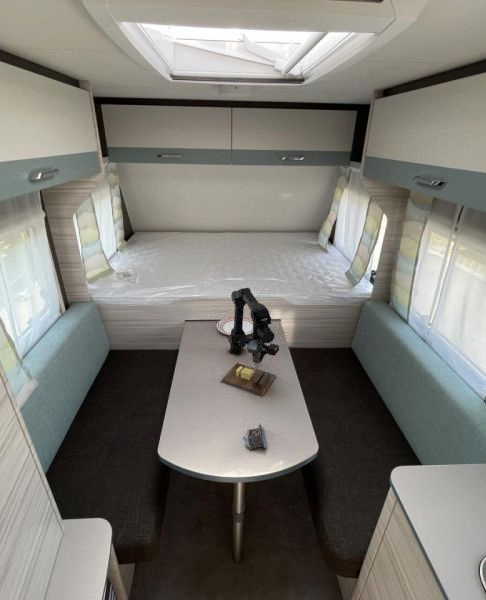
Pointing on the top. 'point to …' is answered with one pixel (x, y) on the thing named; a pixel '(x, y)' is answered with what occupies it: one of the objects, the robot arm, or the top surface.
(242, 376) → the butter stick
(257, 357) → the dark grey block
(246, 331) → the dinner plate
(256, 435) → the grey irregular block
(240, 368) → the butter slice
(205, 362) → the top surface
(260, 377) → the cutting board
